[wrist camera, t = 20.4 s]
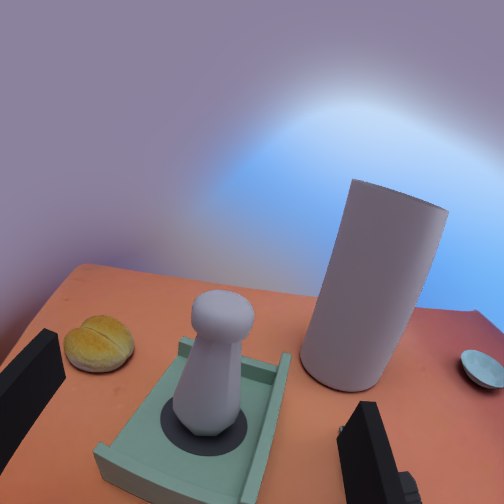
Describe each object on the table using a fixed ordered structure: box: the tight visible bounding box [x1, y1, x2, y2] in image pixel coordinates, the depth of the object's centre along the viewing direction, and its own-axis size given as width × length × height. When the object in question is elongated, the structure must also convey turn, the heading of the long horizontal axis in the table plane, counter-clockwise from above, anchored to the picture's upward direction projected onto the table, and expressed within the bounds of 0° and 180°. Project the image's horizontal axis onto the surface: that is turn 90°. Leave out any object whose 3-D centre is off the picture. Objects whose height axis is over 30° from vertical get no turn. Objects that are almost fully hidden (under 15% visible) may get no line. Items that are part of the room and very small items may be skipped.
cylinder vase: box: [300, 179, 449, 392], centre depth 38 cm, size 12×12×25 cm
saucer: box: [461, 350, 504, 389], centre depth 41 cm, size 12×12×2 cm
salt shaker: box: [173, 290, 254, 436], centre depth 23 cm, size 6×6×13 cm
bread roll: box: [64, 315, 134, 372], centre depth 33 cm, size 8×9×4 cm
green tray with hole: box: [93, 336, 292, 504], centre depth 25 cm, size 12×18×7 cm, turn 167°
